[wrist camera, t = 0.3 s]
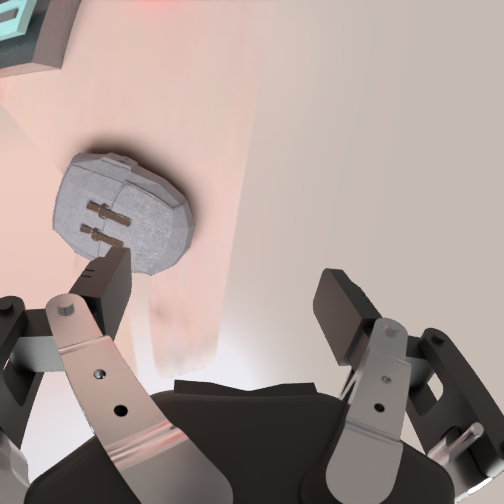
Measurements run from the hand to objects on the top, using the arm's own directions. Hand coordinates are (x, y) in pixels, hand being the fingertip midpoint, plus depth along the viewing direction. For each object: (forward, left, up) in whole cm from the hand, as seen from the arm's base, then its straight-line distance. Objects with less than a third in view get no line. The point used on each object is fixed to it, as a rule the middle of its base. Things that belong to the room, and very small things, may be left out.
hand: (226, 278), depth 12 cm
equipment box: (-20, -35, -29) cm, 50 cm away
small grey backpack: (+8, -12, -29) cm, 33 cm away
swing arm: (-18, -35, -19) cm, 44 cm away
